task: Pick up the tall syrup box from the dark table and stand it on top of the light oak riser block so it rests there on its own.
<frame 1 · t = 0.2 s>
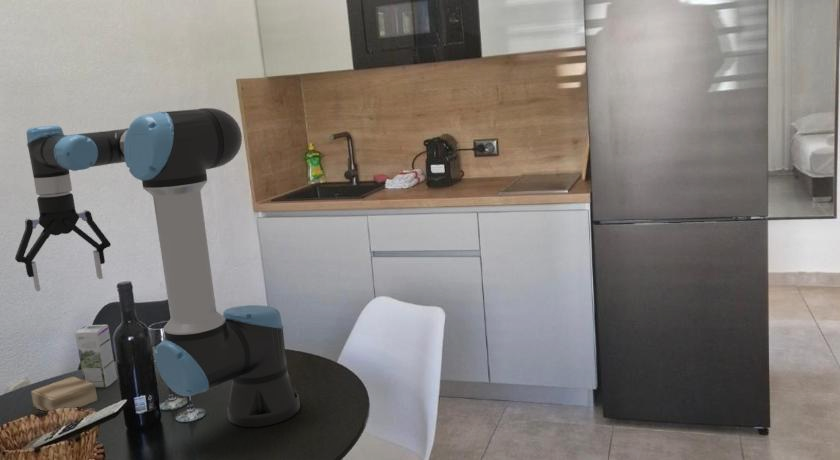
hand: (69, 283, 180), 26 cm above the table, tool pointing down, fingers open, 13 cm apart
syrup box: (101, 384, 188), on the table
oak riser block: (65, 404, 177), on the table
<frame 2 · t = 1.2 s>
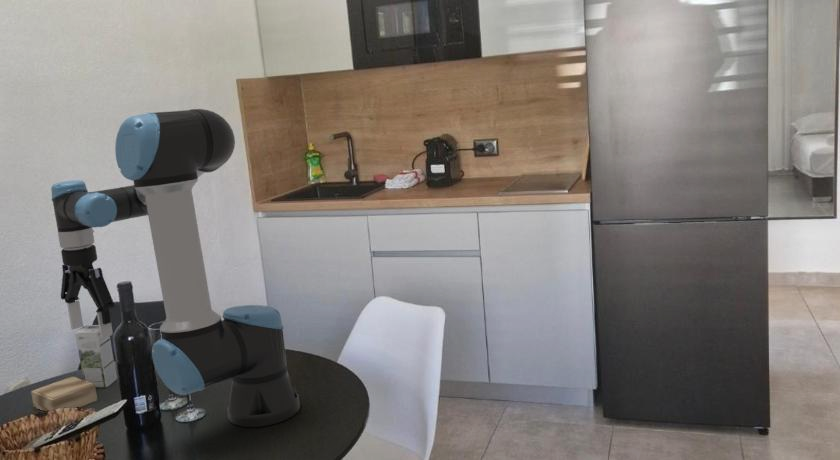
hand: (91, 332, 186), 13 cm above the table, tool pointing down, fingers open, 13 cm apart
nothing on the table moved.
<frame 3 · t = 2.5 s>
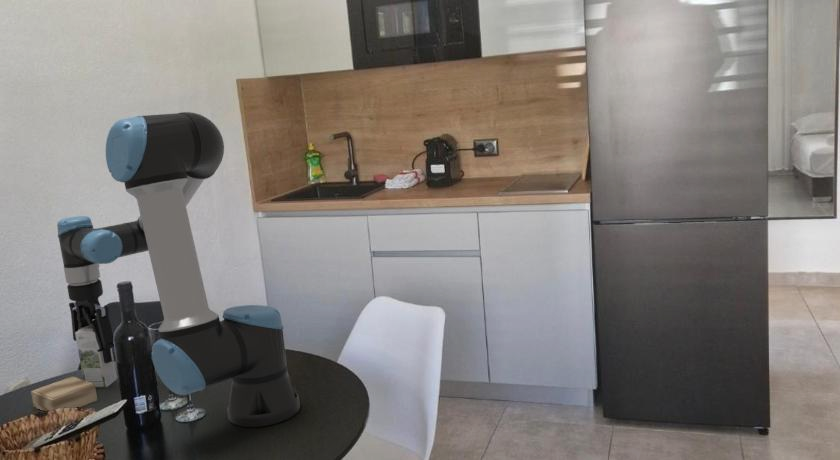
hand: (99, 371, 187), 3 cm above the table, tool pointing down, fingers closed on syrup box, 8 cm apart
syrup box: (101, 384, 188), on the table, touching gripper
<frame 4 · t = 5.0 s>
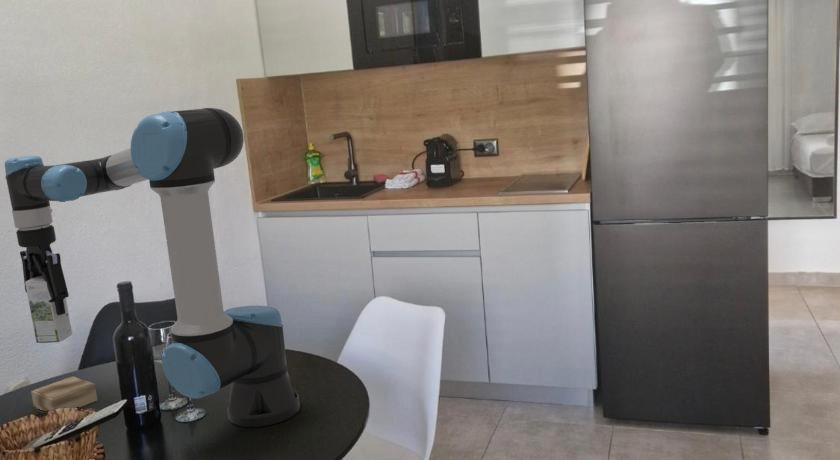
hand: (52, 325, 174), 19 cm above the table, tool pointing down, fingers closed on syrup box, 8 cm apart
syrup box: (54, 340, 174), point 15 cm above the table, touching gripper
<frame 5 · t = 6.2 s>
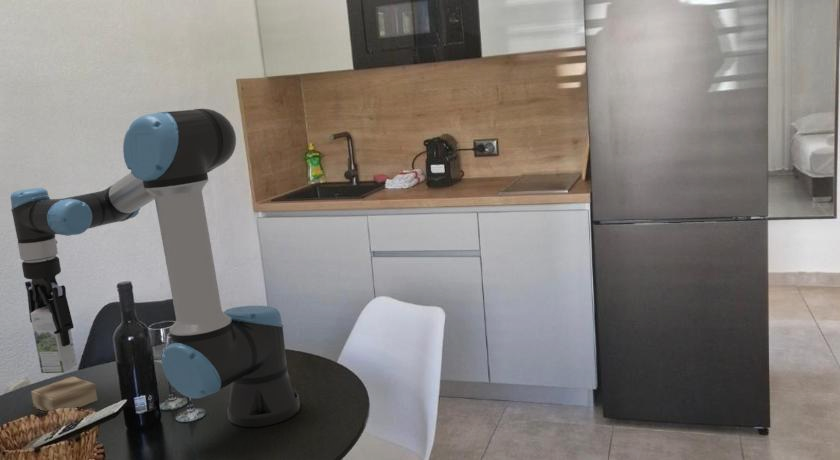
hand: (57, 355, 175), 12 cm above the table, tool pointing down, fingers closed on syrup box, 8 cm apart
syrup box: (59, 369, 176), point 8 cm above the table, touching gripper
when the fingers open (8 cm above the table, at t = 7.3 s): syrup box stays where it is, resting on oak riser block.
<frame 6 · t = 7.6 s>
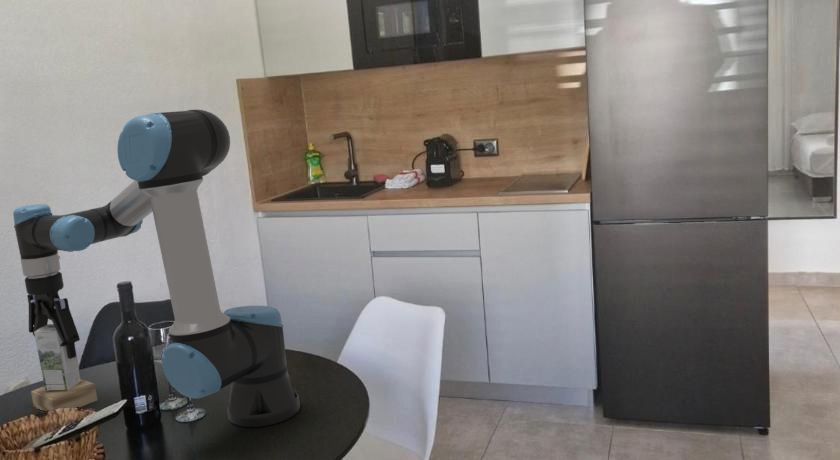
hand: (59, 366, 175), 9 cm above the table, tool pointing down, fingers open, 11 cm apart
syrup box: (63, 387, 176), point 4 cm above the table, touching oak riser block
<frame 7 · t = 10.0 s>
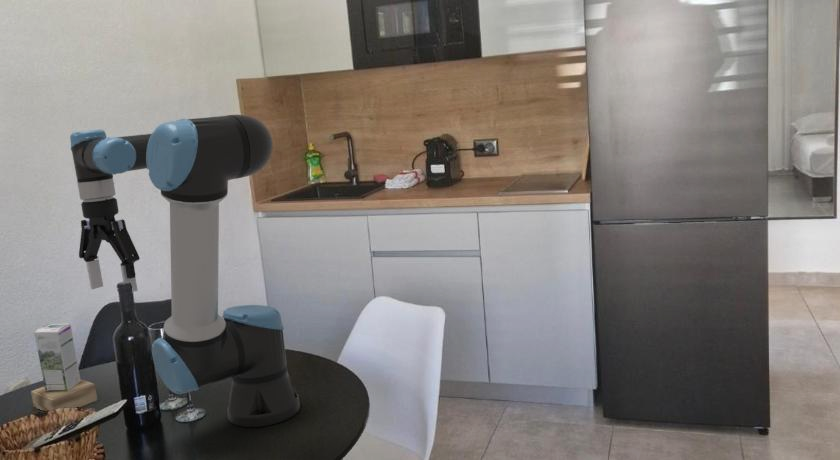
hand: (113, 290, 177), 25 cm above the table, tool pointing down, fingers open, 13 cm apart
nothing on the table moved.
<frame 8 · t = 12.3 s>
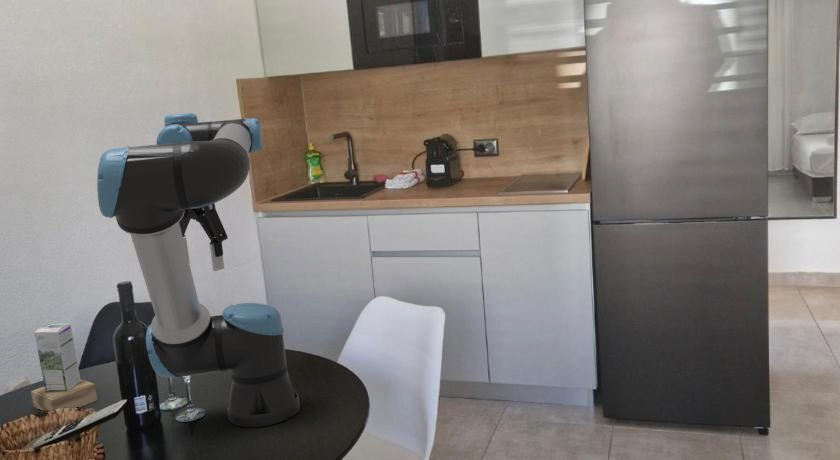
hand: (201, 267, 185), 27 cm above the table, tool pointing down, fingers open, 13 cm apart
nothing on the table moved.
at the end: syrup box inside the target area on the oak riser block (0.1 cm from its centre), point 4.0 cm above the oak riser block's base; syrup box tilted 0°; the gripper is holding nothing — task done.
